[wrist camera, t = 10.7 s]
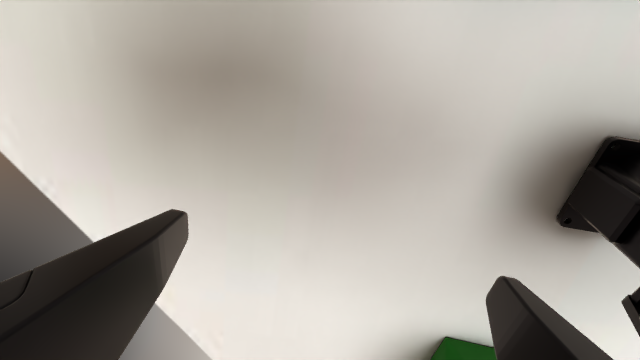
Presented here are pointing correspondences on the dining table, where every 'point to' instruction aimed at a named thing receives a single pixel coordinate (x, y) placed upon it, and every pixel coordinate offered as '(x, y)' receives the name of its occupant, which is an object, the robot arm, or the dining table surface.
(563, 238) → the dining table surface
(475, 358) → the milk carton
